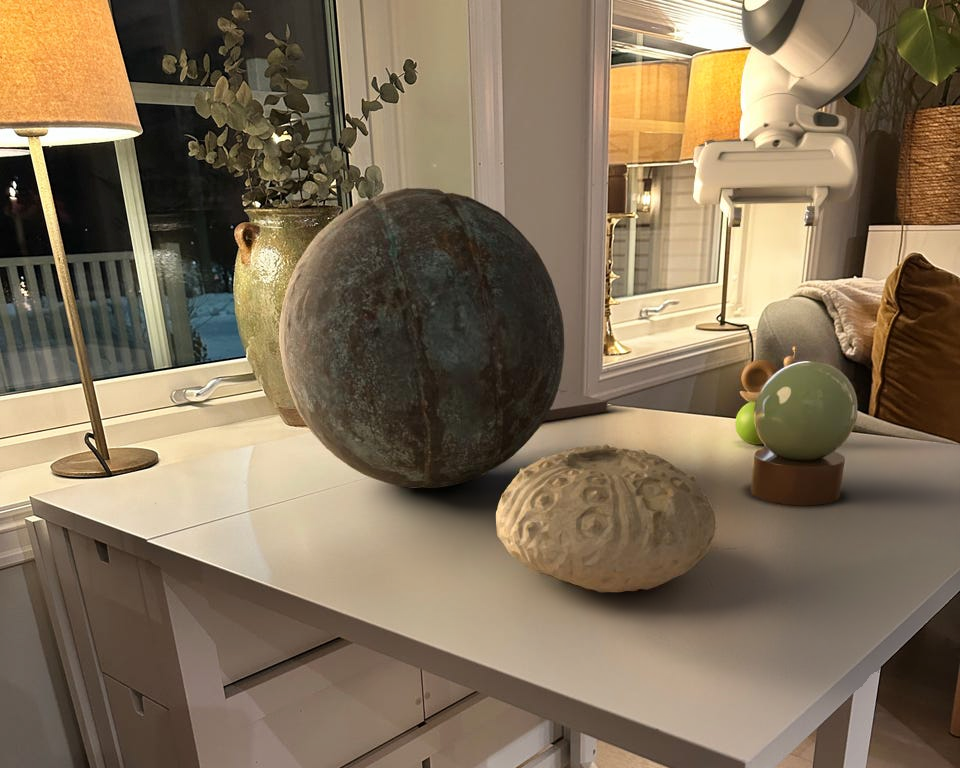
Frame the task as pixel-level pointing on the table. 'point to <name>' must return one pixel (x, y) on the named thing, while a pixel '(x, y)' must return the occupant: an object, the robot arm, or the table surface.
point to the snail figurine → (755, 395)
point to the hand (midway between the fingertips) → (772, 223)
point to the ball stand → (802, 434)
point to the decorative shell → (606, 519)
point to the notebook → (574, 405)
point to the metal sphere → (422, 338)
